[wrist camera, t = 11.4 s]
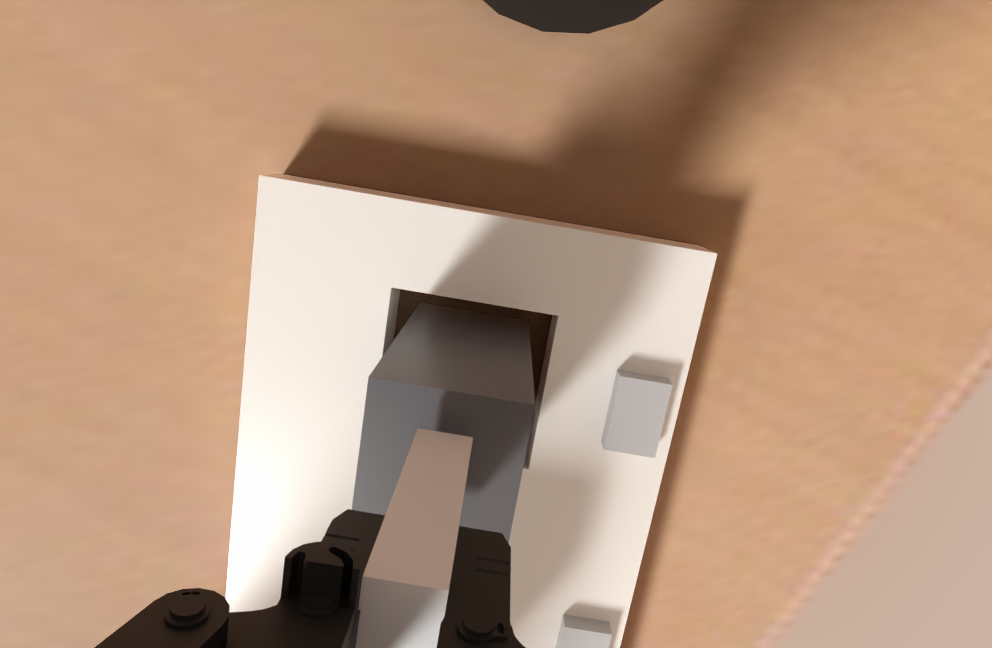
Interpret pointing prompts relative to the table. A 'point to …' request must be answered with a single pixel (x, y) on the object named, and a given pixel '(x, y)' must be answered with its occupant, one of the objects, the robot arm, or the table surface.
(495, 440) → the dark grey block
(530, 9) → the coffee jar
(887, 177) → the table surface
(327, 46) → the table surface
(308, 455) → the white peg board
